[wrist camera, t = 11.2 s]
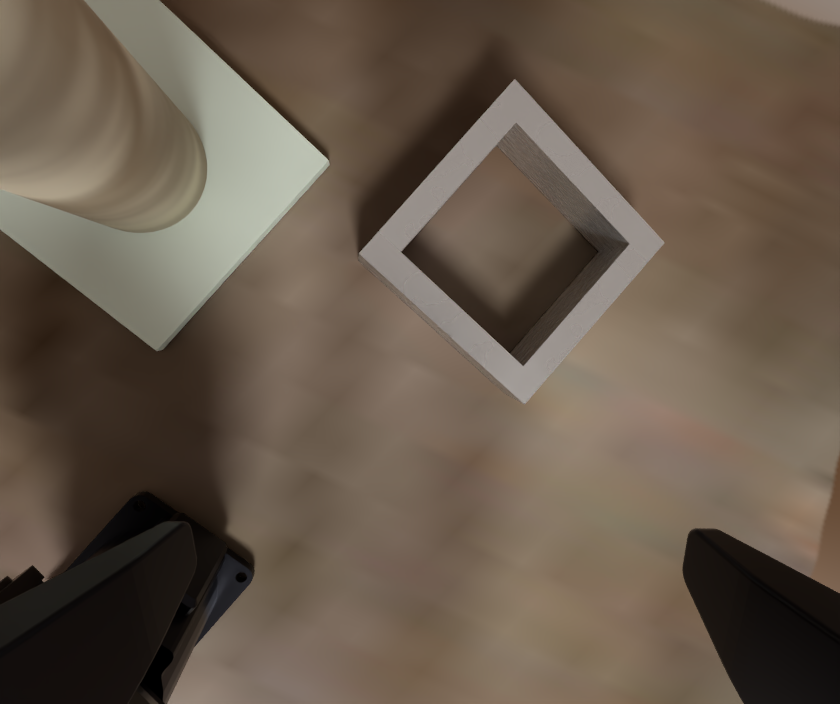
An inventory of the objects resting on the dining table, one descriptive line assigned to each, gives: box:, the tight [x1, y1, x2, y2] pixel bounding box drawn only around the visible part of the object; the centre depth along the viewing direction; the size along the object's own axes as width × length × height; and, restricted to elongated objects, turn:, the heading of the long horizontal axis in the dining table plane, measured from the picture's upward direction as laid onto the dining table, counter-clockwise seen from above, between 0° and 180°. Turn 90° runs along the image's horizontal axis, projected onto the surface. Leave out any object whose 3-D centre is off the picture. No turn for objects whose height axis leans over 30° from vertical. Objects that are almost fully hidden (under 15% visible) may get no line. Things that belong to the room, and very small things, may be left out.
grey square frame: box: [358, 79, 665, 404], centre depth 20 cm, size 10×10×2 cm
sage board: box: [0, 0, 329, 351], centre depth 18 cm, size 11×11×1 cm
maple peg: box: [0, 0, 207, 233], centre depth 12 cm, size 6×6×11 cm
